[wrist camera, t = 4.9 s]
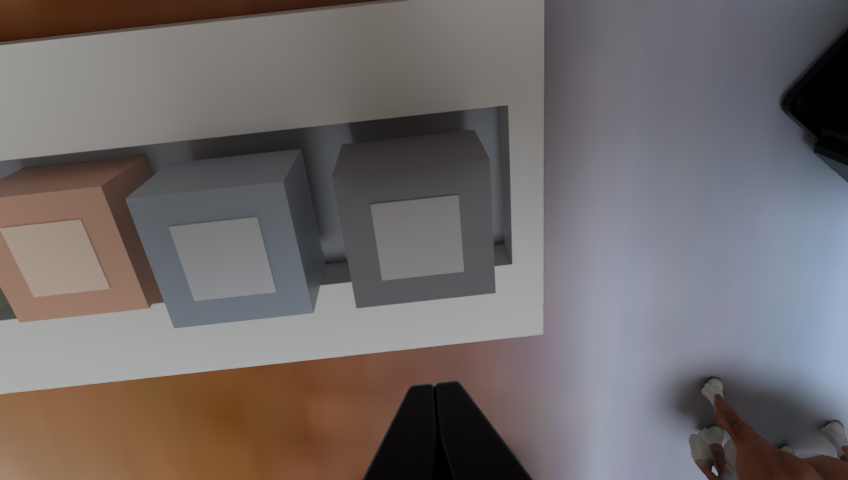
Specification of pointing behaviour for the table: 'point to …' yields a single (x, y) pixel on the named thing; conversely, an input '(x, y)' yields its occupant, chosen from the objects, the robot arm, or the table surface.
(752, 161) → the table surface
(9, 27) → the table surface
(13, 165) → the keypad
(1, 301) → the key sage
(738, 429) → the bull figurine
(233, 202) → the key slate
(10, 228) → the key terracotta
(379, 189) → the key charcoal
